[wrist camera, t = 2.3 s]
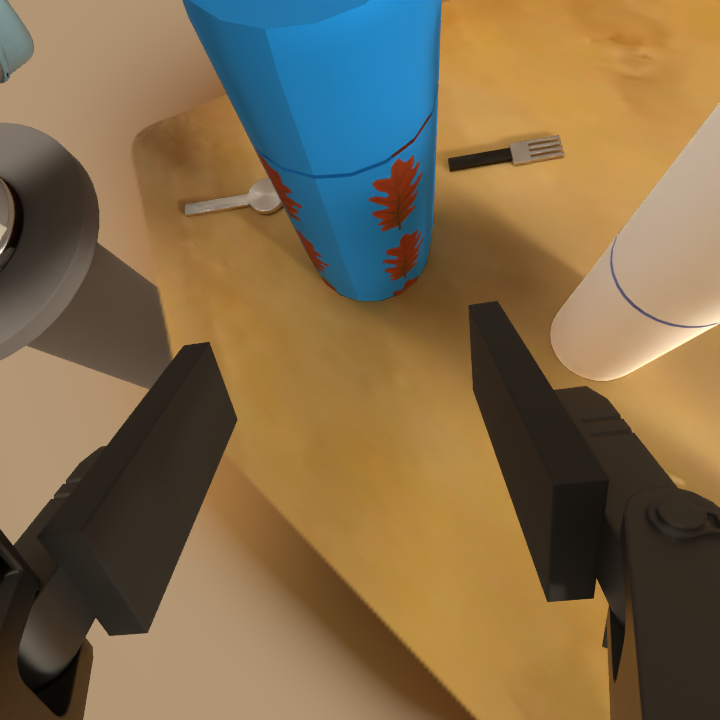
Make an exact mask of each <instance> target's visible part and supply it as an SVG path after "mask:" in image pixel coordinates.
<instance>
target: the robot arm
mask: <svg viewBox="0 0 720 720" xmlns="http://www.w3.org/2000/svg"><path fill="white" fill-rule="evenodd" d="M33 51H34V44H33V40H32V37H31V35H30V33H29V31H28V30H27V29H26V27H25V25H24V24H23V22H22V21H21V20H20V18H19V16H18V15H17V13H16V12H15V11H14V9H13V8H12V7H11V5H10V4H9V2H8V1H7V0H0V83H4V82H6V81H7V80H8V79H9V77H10V74H12V73H13V72H14V71H16V70H17V69H18V68H20V67H21V66H22V65H23V64H25V63H26V62H27V61H28V60H29V59H30V58H31V57H32V55H33ZM23 227H24V209H23V204H22V201H21V199H20V196H19V195H18V193H17V191H16V190H15V189H14V188H13V187H12V186H11V185H10V184H9V183H8V182H6V181H5V180H4V179H2V178H1V177H0V272H1V271H2V270H3V269H4V268H5V267H6V265H7V264H8V263H9V261H10V260H11V258H12V256H13V255H14V253H15V251H16V249H17V247H18V245H19V242H20V239H21V236H22V232H23ZM469 323H470V341H471V360H472V378H473V391H474V394H475V397H476V400H477V403H478V406H479V408H480V411H481V414H482V417H483V420H484V423H485V425H486V428H487V431H488V434H489V437H490V440H491V443H492V445H493V448H494V451H495V454H496V457H497V460H498V463H499V465H500V468H501V471H502V474H503V477H504V480H505V483H506V485H507V488H508V491H509V494H510V497H511V500H512V502H513V505H514V508H515V511H516V514H517V517H518V520H519V522H520V525H521V528H522V531H523V534H524V537H525V540H526V542H527V545H528V548H529V551H530V554H531V557H532V559H533V562H534V565H535V568H536V571H537V574H538V577H539V579H540V582H541V585H542V588H543V591H544V594H545V597H546V599H547V602H554V601H566V600H579V599H592V598H594V592H595V584H596V578H597V580H598V582H599V584H600V586H601V588H602V590H603V593H604V595H605V597H606V599H607V601H608V603H609V608H608V614H607V620H606V627H605V633H604V639H603V645H602V647H605V648H608V667H609V691H610V715H611V720H720V508H719V507H718V506H717V505H715V504H714V503H713V502H711V501H709V500H707V499H705V498H703V497H701V496H699V495H697V494H695V493H693V492H690V491H686V490H683V489H679V488H678V487H677V486H676V485H675V484H674V483H673V481H672V480H671V479H670V477H669V476H668V475H667V474H666V472H665V471H664V470H663V469H662V467H661V466H660V465H659V464H658V462H657V461H656V460H655V459H654V457H653V456H652V455H651V453H650V452H649V451H648V450H647V448H646V447H645V446H644V445H643V443H642V442H641V441H640V440H639V438H638V437H637V436H636V435H635V433H632V431H631V428H630V427H629V426H628V424H627V423H626V422H625V421H624V419H621V417H620V414H619V413H618V412H617V410H616V409H615V408H614V407H613V405H612V404H611V403H610V402H609V400H608V399H607V398H605V397H603V396H602V395H600V394H598V393H597V392H595V391H593V390H592V389H590V388H588V387H587V386H583V387H575V388H567V389H558V390H553V388H552V387H551V385H550V384H549V382H548V381H547V379H546V377H545V376H544V374H543V373H542V371H541V369H540V368H539V366H538V365H537V363H536V361H535V360H534V358H533V357H532V355H531V353H530V352H529V350H528V349H527V347H526V346H525V344H524V342H523V341H522V339H521V338H520V336H519V334H518V333H517V331H516V330H515V328H514V326H513V325H512V323H511V322H510V320H509V319H508V317H507V315H506V314H505V312H504V311H503V309H502V307H501V306H500V304H499V303H498V301H494V302H487V303H480V304H473V305H469ZM237 420H238V419H237V417H236V414H235V411H234V408H233V406H232V403H231V400H230V397H229V395H228V392H227V389H226V386H225V384H224V381H223V378H222V375H221V373H220V370H219V367H218V364H217V362H216V359H215V356H214V353H213V351H212V348H211V345H210V342H206V343H199V344H192V345H185V346H183V347H182V349H181V350H180V351H179V352H178V354H177V355H176V356H175V358H174V359H173V360H172V362H171V363H170V364H169V365H168V367H167V368H166V369H165V371H164V372H163V373H162V375H161V376H160V377H159V379H158V380H157V381H156V382H155V384H154V385H153V386H152V388H151V389H150V390H149V392H148V393H147V394H146V396H145V397H144V398H143V399H142V401H141V402H140V403H139V405H138V406H137V407H136V408H135V410H134V411H133V412H132V414H131V415H130V416H129V418H128V419H127V420H126V422H125V423H124V424H123V425H122V427H121V428H120V429H119V431H118V432H117V433H116V435H115V436H114V437H113V438H112V440H111V441H110V442H109V444H108V445H107V446H103V447H100V448H98V449H97V450H96V451H95V452H93V453H92V454H91V455H89V456H88V457H87V458H86V459H84V460H83V461H82V462H81V463H80V464H79V465H78V466H77V467H76V469H75V470H74V471H73V472H72V474H71V475H70V476H69V477H68V479H67V480H66V484H63V485H62V486H61V487H60V488H59V490H58V491H57V492H56V493H55V495H54V499H51V500H50V501H49V502H48V503H47V505H46V506H45V507H44V508H43V510H42V511H41V512H40V513H39V515H38V516H37V517H36V518H35V519H34V521H33V522H32V523H31V524H30V526H29V527H28V528H27V530H26V531H25V532H24V533H23V534H22V536H21V537H20V538H19V539H18V541H17V542H16V543H15V544H14V545H12V544H11V542H10V541H9V540H8V539H7V537H6V536H5V535H4V534H3V532H2V531H1V530H0V720H83V717H84V711H85V705H86V698H87V692H88V686H89V680H90V674H91V668H92V661H93V647H92V645H91V644H90V643H89V641H88V640H87V639H86V638H85V637H86V635H87V633H88V631H89V629H90V627H91V625H92V624H93V622H94V619H95V618H97V619H98V621H99V622H100V624H101V625H102V626H103V628H104V629H105V630H106V632H107V633H108V635H109V636H114V635H127V634H141V633H148V631H149V629H150V626H151V624H152V621H153V619H154V617H155V614H156V612H157V610H158V607H159V605H160V602H161V600H162V597H163V595H164V593H165V591H166V588H167V586H168V583H169V581H170V579H171V576H172V574H173V572H174V569H175V566H176V564H177V562H178V560H179V557H180V555H181V552H182V550H183V548H184V545H185V543H186V541H187V538H188V536H189V533H190V531H191V529H192V526H193V524H194V522H195V519H196V517H197V514H198V512H199V510H200V507H201V505H202V503H203V500H204V498H205V496H206V493H207V491H208V488H209V486H210V484H211V481H212V479H213V477H214V474H215V472H216V470H217V467H218V465H219V462H220V460H221V458H222V455H223V453H224V451H225V448H226V446H227V443H228V441H229V439H230V436H231V434H232V432H233V429H234V427H235V424H236V422H237Z"/></svg>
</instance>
